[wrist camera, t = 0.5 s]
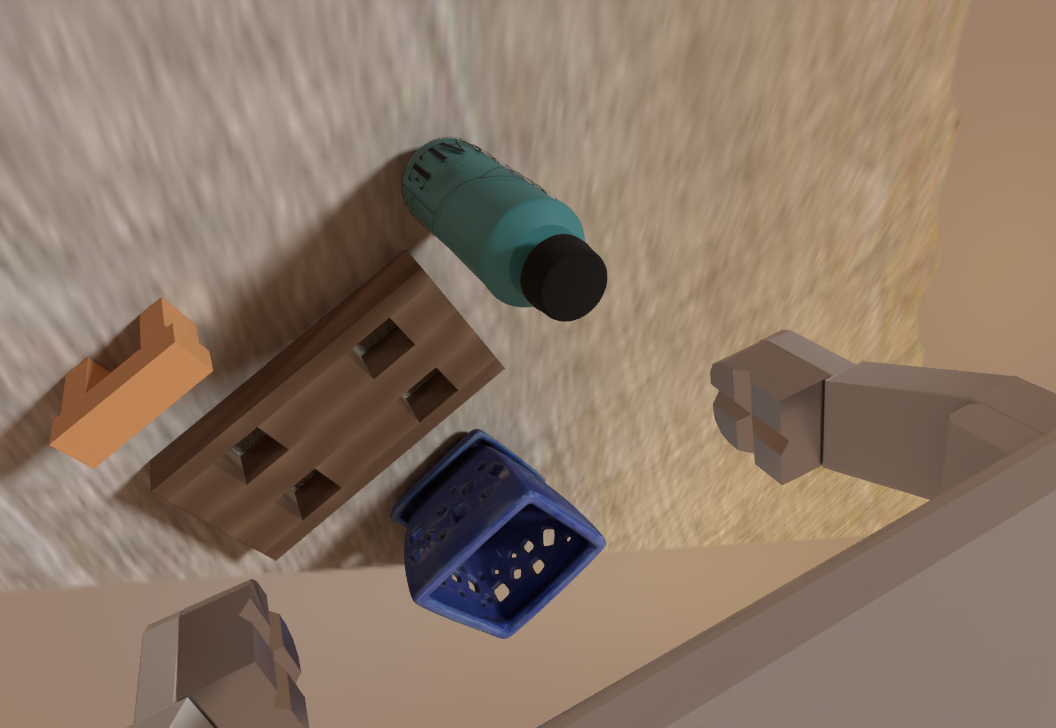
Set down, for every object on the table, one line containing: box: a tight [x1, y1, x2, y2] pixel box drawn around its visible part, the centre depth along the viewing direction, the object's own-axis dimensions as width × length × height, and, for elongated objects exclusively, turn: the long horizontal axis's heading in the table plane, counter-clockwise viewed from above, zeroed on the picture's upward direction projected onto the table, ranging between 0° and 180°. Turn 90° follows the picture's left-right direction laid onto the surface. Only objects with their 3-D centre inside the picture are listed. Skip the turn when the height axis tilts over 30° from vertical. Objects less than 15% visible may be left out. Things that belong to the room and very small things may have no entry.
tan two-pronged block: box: [49, 297, 213, 469], centre depth 41 cm, size 9×3×7 cm, turn 122°
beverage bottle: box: [402, 137, 607, 321], centre depth 40 cm, size 6×7×20 cm
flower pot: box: [391, 429, 606, 639], centre depth 60 cm, size 13×13×12 cm
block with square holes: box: [150, 250, 505, 560], centre depth 51 cm, size 12×24×4 cm, turn 122°
